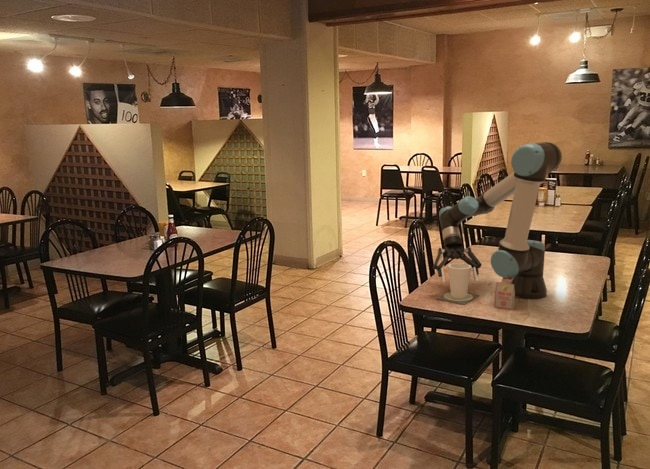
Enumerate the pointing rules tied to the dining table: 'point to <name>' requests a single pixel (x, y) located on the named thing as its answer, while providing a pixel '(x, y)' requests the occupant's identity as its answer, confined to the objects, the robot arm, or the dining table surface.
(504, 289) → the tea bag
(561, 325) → the dining table surface
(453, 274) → the foam cup
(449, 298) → the square coaster
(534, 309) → the dining table surface
